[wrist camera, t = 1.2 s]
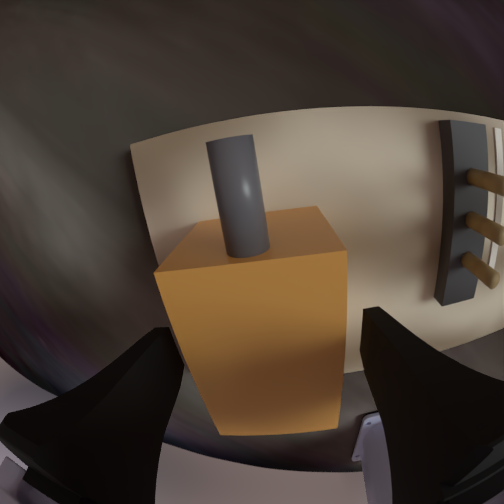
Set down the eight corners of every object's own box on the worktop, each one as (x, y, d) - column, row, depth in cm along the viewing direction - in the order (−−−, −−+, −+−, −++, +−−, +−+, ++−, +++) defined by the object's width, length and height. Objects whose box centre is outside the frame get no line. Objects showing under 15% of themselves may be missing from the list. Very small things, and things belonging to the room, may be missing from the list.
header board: (495, 319, 14) (526, 354, 10) (205, 370, 17) (189, 426, 12) (517, 126, 9) (567, 133, 5) (141, 144, 12) (83, 149, 7)
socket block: (324, 352, 14) (337, 427, 9) (233, 360, 15) (220, 434, 10) (307, 133, 10) (335, 123, 5) (185, 153, 11) (125, 161, 6)
